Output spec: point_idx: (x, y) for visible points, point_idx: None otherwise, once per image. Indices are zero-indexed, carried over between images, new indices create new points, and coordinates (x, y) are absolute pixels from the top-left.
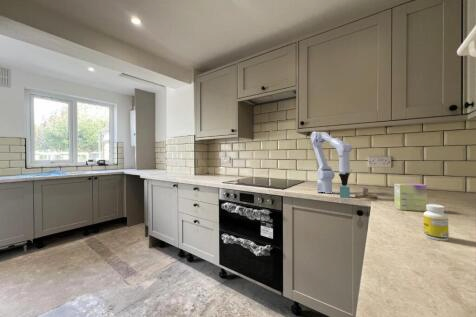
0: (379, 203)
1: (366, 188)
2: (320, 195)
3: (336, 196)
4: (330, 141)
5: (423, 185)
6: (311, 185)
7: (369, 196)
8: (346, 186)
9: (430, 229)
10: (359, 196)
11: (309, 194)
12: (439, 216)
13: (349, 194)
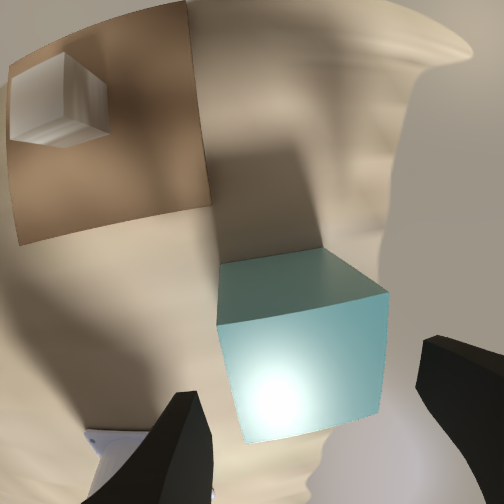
0: (408, 12)
1: (67, 72)
2: (305, 460)
3: None
4: None
5: None
6: (4, 492)
7: (171, 58)
8: (319, 355)
9: None
10: (204, 156)
11: (300, 498)
12: None
13: (333, 258)
